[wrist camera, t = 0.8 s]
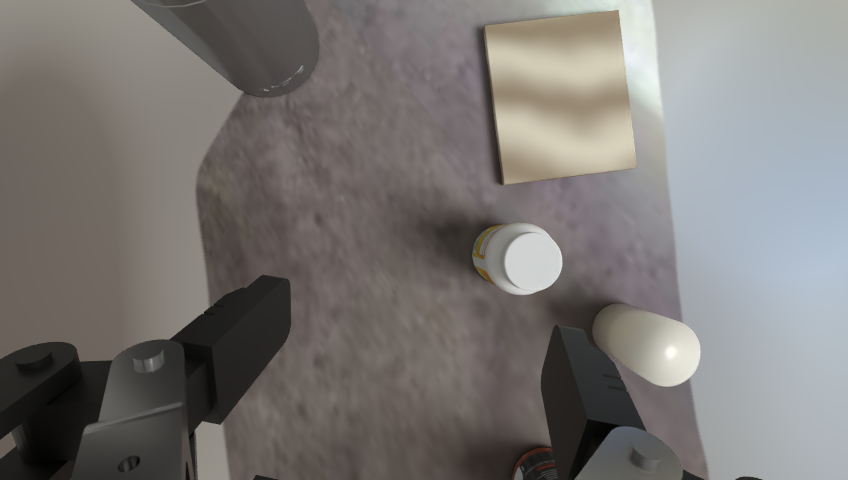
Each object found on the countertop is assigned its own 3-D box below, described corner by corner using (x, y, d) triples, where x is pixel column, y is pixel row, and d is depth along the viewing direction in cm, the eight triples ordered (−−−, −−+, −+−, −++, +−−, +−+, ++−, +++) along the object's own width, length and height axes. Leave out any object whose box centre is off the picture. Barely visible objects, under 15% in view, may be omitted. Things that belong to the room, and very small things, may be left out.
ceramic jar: (582, 318, 37) (623, 339, 30) (630, 293, 37) (682, 308, 30) (607, 366, 37) (653, 398, 30) (654, 341, 37) (711, 366, 30)
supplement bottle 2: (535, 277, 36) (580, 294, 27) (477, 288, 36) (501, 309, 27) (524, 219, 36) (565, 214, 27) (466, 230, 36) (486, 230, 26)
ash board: (483, 30, 36) (484, 25, 35) (613, 14, 36) (618, 10, 35) (502, 185, 36) (504, 184, 35) (631, 168, 36) (636, 167, 36)
